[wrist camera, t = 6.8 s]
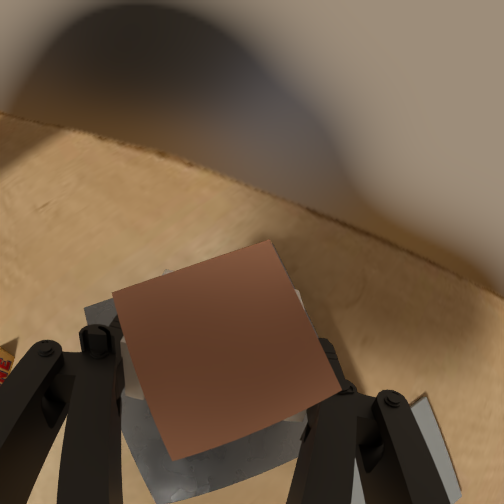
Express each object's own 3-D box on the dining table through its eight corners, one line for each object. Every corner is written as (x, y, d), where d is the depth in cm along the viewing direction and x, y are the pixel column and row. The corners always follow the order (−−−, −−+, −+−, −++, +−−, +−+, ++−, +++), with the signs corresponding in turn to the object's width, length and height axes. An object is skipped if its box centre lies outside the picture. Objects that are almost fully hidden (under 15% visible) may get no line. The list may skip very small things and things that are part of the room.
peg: (177, 360, 19) (111, 292, 7) (234, 339, 20) (269, 238, 8) (200, 416, 18) (172, 461, 5) (258, 394, 19) (342, 390, 6)
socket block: (95, 317, 21) (83, 307, 19) (267, 258, 25) (272, 243, 23) (163, 495, 16) (157, 506, 14) (344, 422, 20) (359, 424, 17)
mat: (294, 475, 18) (295, 477, 17) (422, 397, 21) (426, 396, 20) (348, 573, 13) (350, 575, 13) (458, 495, 16) (461, 496, 16)
